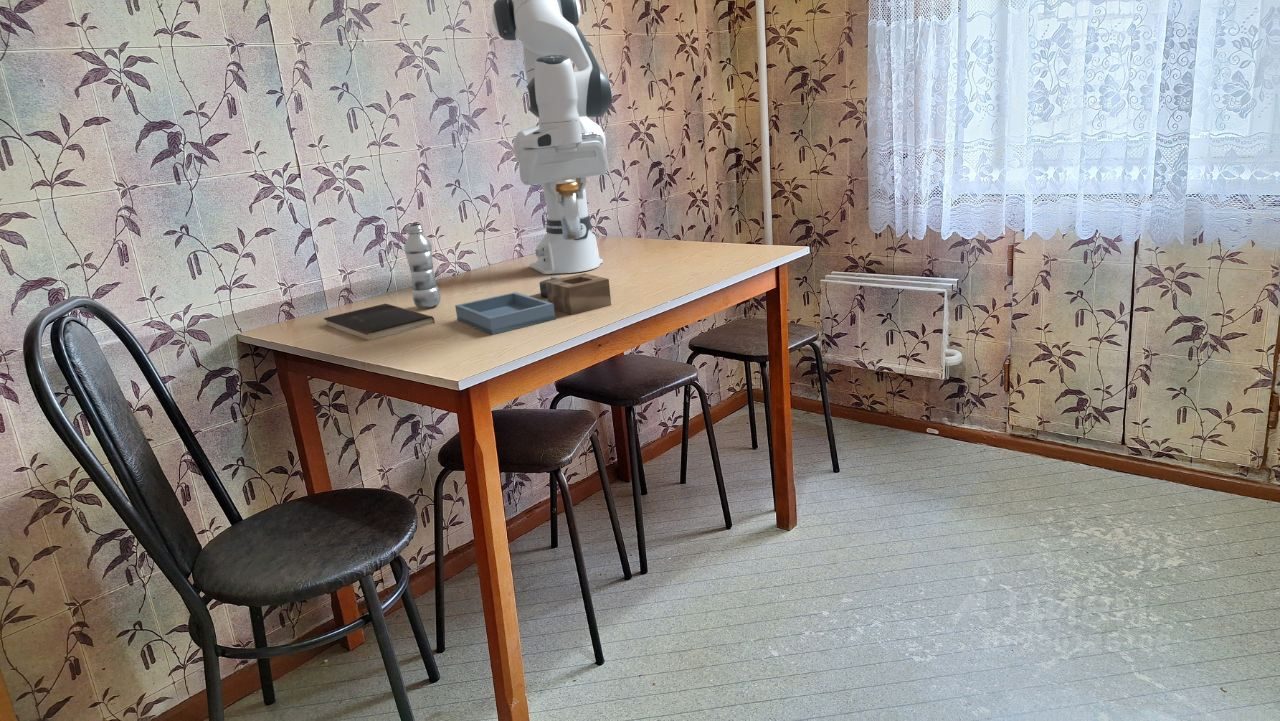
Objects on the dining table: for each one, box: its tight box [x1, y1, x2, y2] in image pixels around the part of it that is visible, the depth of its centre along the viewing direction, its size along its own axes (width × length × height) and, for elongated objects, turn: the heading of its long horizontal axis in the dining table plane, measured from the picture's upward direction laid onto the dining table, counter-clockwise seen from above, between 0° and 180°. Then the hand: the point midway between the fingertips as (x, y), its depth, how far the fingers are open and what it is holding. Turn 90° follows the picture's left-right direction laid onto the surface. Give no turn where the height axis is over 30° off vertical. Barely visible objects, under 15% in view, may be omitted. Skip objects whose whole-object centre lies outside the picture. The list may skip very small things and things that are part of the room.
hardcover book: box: [323, 303, 435, 341], centre depth 189 cm, size 16×23×2 cm
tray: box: [454, 291, 556, 336], centre depth 182 cm, size 18×15×4 cm
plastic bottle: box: [403, 223, 441, 309], centre depth 198 cm, size 6×7×20 cm
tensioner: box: [529, 272, 612, 316], centre depth 192 cm, size 19×10×6 cm, turn 35°
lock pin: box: [555, 181, 581, 240], centre depth 182 cm, size 5×5×12 cm
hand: (568, 200), depth 182 cm, fingers closed on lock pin, 4 cm apart
